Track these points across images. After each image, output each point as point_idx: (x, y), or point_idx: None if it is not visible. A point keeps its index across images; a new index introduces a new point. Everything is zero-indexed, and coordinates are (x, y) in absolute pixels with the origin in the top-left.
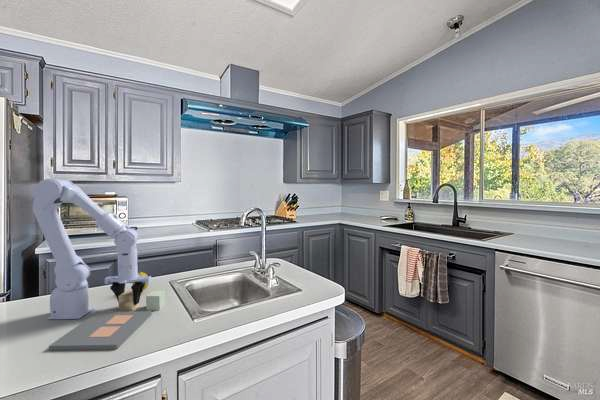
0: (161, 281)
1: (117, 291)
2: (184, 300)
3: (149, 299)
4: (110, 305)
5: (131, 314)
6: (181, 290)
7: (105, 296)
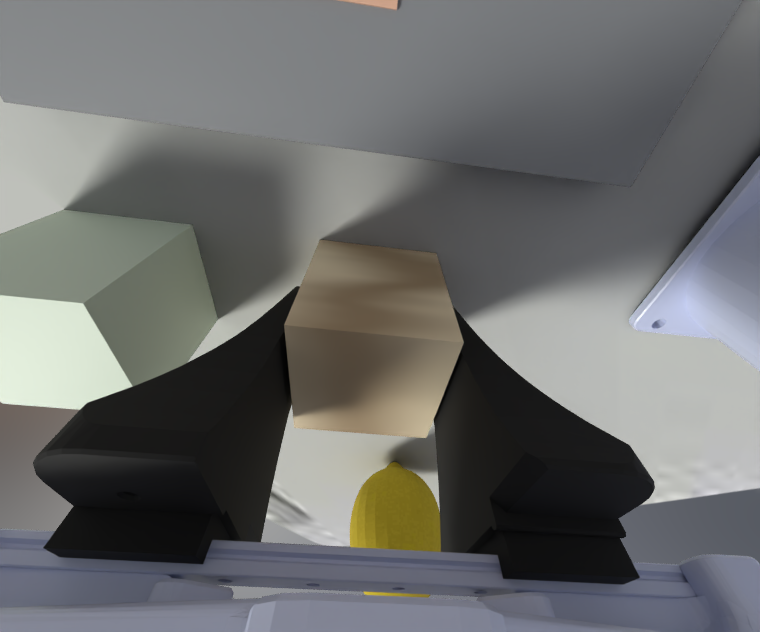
0: (345, 520)
1: (492, 399)
2: None
3: (75, 273)
4: (524, 346)
5: (192, 19)
6: None
7: None
